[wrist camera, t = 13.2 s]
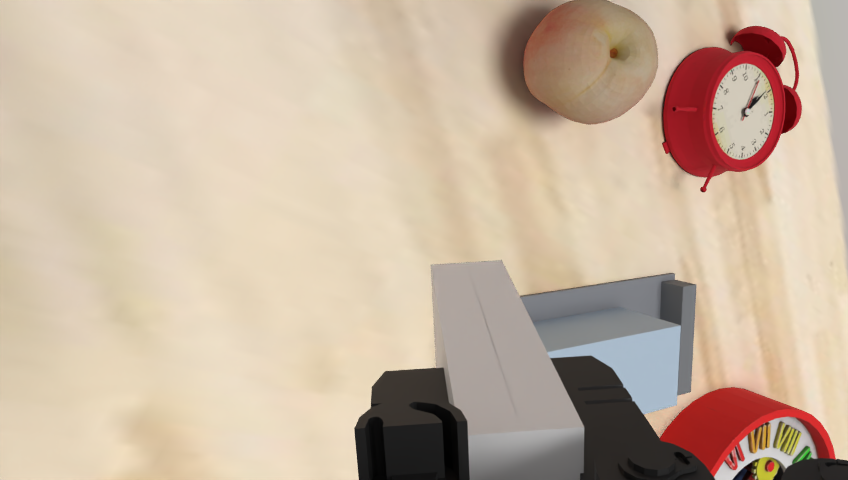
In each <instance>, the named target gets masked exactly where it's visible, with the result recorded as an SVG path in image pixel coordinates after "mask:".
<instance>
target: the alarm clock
mask: <svg viewBox="0 0 848 480" xmlns="http://www.w3.org/2000/svg"><path fill="white" fill-rule="evenodd" d="M783 40H784V41H785V42H786V43H787V45H788V46H789V49H790V51H791V53H792V57H793V61H794V66H795V83H794V87H793V89H792V88H791V87H788V86H786V85H783V83H782V80H781V77H780V75H779V73H778V71H777V69H776V68H775V67H778V66H779V65H780V64H781V63H782V62H783V60H784V58H785V55H786V46H785V43H784V41H783ZM734 41H737V42H739V43H740V44H741V46H742V48H743V50H744V51H740V52H735V53H731V52H729V51H728V50H725V49H722V48H718V47H710V48H703V49H700V50H698V51H695V52H694V53H692V54H690V55H689V56H688V57H687V58H686V59H685V60H684V61H683V62H682V63H681V64H680V65H679V67H678V68H677V70H676V72H675V73H674V75H673V77H672V79H671V81H670V84H669V87H668V90H667V93H666V97H665V103H664V112H663V118H664V131H665V137H666V142H665V143H662V144H663V147H664V150H665V153H666V154H668V153H669V152H671V154H672V156H673V157H674V159H675V160H676V162H677V163H678V164H679V165H680V166H681V167H682V168H683V169H684V170H685V171H687V172H688V173H690V174H692V175H695V176H699V177H707V179H706V182H705V184H704V186H703V187H701V188H700V190H701V191H702V192H705V191H706V190H707V189H706V186H707V184H708V183H709V181H710V179H711V177H713V176H717V175H720V174H722V173H724V172H725V171H735V172H742V171H747V170H750V169H753V168H755V167H757V166H759V165H760V164H762V163H763V162H764V161H765V160H766V159H767V158H768V157H769V156H770V154H771V153H772V152H773V150H774V148H775V147H776V145H777V143H778V140H779V138H780V135H781V134H782V133H786V132H788V131H790V130H791V129H793V128H794V127H795V126H796V125H797V123H798V122H799V119H800V116H801V111H802V106H801V101H800V98H799V96H798V94H797V92H796V91H795V90H796V88H797V84H798V79H799V70H798V62H797V58H796V55H795V52H794V49H793V47H792V45H791V43H790V41H789V40H788V39H787V38H785V37H782V36H779V35H778V34H777V33H776V32H774V31H773V30H771V29H769V28H766V27H761V26H750V27H747V28H744V29H742V30H740V31H739V32H737V33H736V34H735V36H734V37H733V39H732V40H731V42H730V43H731V45H732V43H733V42H734Z"/></svg>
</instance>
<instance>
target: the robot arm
mask: <svg viewBox="0 0 848 480" xmlns="http://www.w3.org/2000/svg"><path fill="white" fill-rule="evenodd" d="M431 279H432V299H433V318H434V337H435V357H436V368H429V369H414V370H399V371H385V372H384V373H383V375H382V376H381V377H380V378H379V379H378V380H377V382H376V383H375V384H374V385H373V386H372V396H371V409H369V410H368V411H367V412H366V413H364V414H363V415H362V416H361V417H360V418H359V420H358V422H357V424H356V426H355V441H356V452H357V463H358V474H359V480H715V478H714V477H713V475H712V474H711V473H710V471H709V470H708V469H707V467H706V466H705V464H704V463H702V462H701V461H700V460H699V459H698V458H697V457H696V456H695V455H694V454H693V453H691V452H689V451H687V450H685V449H683V448H681V447H679V446H677V445H675V444H672V443H668V442H664V441H661V440H660V439H659V437H658V436H657V434H656V433H655V431H654V430H653V428H652V427H651V425H650V424H649V422H648V421H647V419H646V418H645V416H644V415H643V413H642V412H641V410H640V409H639V407H638V406H637V404H636V403H635V401H632V397H631V395H630V394H629V392H628V391H627V389H626V388H624V387H623V383H622V382H621V380H620V379H619V377H618V376H617V374H616V373H615V371H614V370H613V368H611V367H609V366H608V365H606V364H605V363H603V362H601V361H600V360H598V359H596V358H595V357H593V356H591V355H590V356H575V357H560V358H550V357H549V355H548V353H547V351H546V349H545V347H544V345H543V343H542V341H541V339H540V337H539V335H538V333H537V330H536V328H535V326H534V324H533V322H532V320H531V318H530V316H529V314H528V312H527V310H526V308H525V306H524V304H523V302H522V300H521V298H520V296H519V294H518V292H517V290H516V288H515V286H514V284H513V282H512V280H511V278H510V276H509V274H508V272H507V270H506V268H505V266H504V264H503V262H502V260H498V261H482V262H466V263H450V264H434V265H431ZM781 480H848V461H846V460H840V459H837V460H835V459H830V458H817V459H807V460H800V461H798V462H796V463H794V464H792V465H790V466H788V467H787V468H786V470H785V472H784V474H783V476H782V477H781Z"/></svg>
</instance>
